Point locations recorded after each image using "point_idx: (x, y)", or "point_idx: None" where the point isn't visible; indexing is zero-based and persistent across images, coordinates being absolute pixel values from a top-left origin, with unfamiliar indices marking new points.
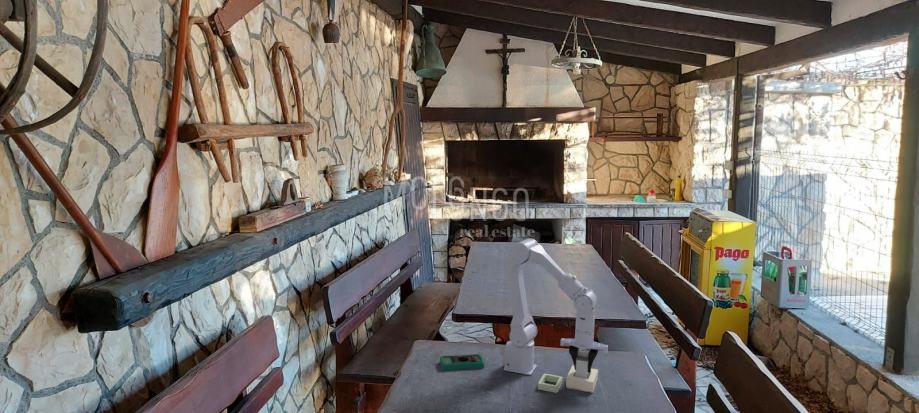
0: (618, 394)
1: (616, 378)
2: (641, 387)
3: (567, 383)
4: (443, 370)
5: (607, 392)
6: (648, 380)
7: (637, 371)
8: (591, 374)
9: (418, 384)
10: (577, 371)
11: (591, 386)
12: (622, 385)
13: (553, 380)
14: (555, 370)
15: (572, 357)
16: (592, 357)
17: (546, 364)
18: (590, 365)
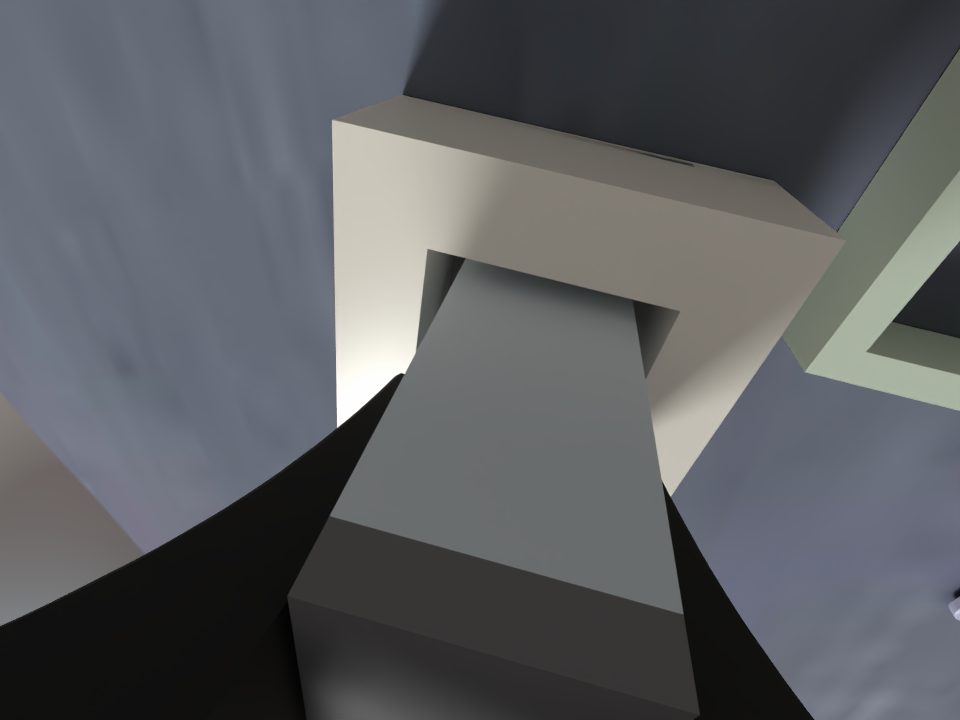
0: (122, 131)
1: (246, 440)
2: (27, 321)
3: (778, 198)
4: None
5: (241, 159)
6: (48, 425)
7: (160, 520)
8: None
9: None
10: (612, 365)
11: (392, 114)
12: (166, 337)
13: (920, 338)
14: (762, 542)
15: (792, 711)
16: (68, 655)
17: (813, 617)
18: (326, 453)
